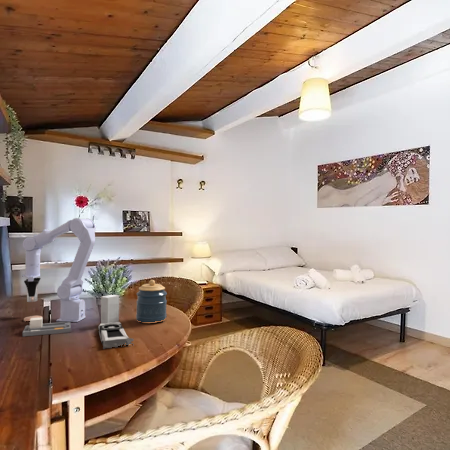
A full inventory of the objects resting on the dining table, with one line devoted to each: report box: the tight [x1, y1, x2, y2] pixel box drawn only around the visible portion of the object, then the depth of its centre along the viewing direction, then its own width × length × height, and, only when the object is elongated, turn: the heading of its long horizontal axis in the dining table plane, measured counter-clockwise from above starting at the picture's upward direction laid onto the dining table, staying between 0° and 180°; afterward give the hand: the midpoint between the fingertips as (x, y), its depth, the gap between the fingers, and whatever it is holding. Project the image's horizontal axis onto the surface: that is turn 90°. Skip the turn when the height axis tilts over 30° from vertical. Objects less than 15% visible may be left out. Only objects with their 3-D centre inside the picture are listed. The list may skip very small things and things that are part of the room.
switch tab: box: [29, 316, 44, 328], centre depth 137 cm, size 4×4×3 cm
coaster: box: [23, 315, 43, 322], centre depth 155 cm, size 7×7×1 cm
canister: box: [135, 279, 168, 322], centre depth 157 cm, size 13×13×18 cm
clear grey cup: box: [26, 283, 39, 303], centre depth 159 cm, size 4×4×8 cm
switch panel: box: [22, 321, 72, 337], centre depth 139 cm, size 16×9×2 cm, turn 113°
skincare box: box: [100, 294, 120, 324], centre depth 148 cm, size 6×4×12 cm
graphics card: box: [97, 321, 134, 350], centre depth 133 cm, size 10×3×25 cm
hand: (32, 295), depth 159 cm, fingers closed on clear grey cup, 4 cm apart
